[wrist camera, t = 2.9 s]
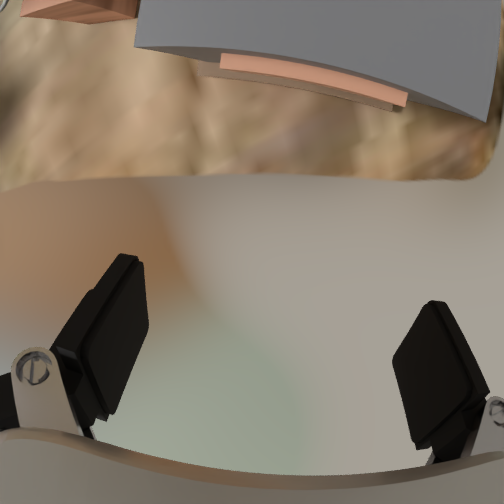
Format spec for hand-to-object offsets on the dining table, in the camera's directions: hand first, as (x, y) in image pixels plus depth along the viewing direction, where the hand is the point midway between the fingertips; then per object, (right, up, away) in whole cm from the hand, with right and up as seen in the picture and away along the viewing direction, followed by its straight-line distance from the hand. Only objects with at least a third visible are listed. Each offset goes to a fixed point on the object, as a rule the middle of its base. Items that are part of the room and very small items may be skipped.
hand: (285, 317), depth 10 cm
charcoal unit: (+3, +17, +6) cm, 18 cm away
